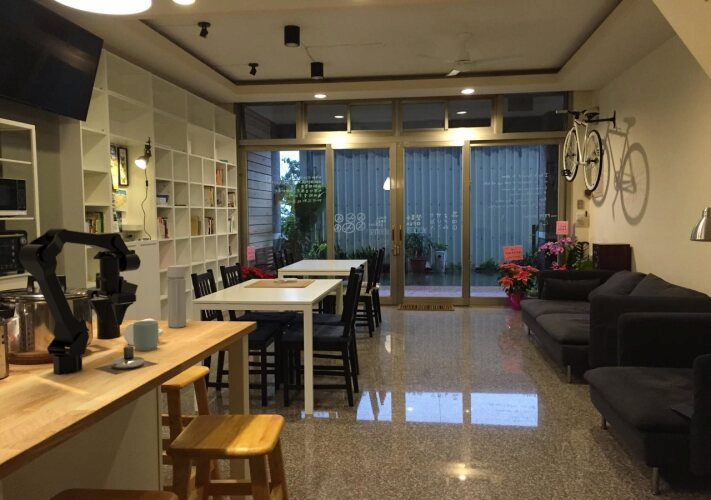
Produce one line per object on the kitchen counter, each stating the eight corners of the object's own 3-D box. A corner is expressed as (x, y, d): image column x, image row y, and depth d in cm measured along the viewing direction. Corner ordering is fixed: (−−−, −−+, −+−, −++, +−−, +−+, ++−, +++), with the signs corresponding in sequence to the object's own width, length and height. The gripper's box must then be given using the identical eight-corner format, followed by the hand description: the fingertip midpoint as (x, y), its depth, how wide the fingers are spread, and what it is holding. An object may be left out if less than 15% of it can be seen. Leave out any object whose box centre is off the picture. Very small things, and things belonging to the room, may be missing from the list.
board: (116, 378, 156) (115, 374, 156) (93, 372, 162) (93, 368, 162) (158, 367, 168) (158, 363, 168) (136, 362, 174) (136, 358, 174)
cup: (150, 355, 182) (149, 325, 182) (128, 354, 184) (128, 324, 183) (163, 350, 190) (162, 320, 190) (142, 349, 192) (141, 320, 191)
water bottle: (167, 325, 233) (166, 265, 232) (186, 324, 236) (186, 265, 234) (166, 329, 225) (165, 267, 223) (187, 328, 227) (186, 267, 226)
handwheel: (142, 367, 161) (142, 352, 161) (108, 369, 159) (108, 354, 159) (145, 359, 170) (144, 345, 170) (113, 361, 168) (112, 347, 167)
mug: (123, 345, 198) (123, 322, 197) (140, 339, 207) (140, 317, 207) (153, 347, 195) (153, 324, 194) (169, 341, 205) (169, 319, 204)
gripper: (151, 273, 174) (152, 322, 175) (116, 269, 185) (117, 316, 185) (118, 276, 165) (119, 328, 166) (83, 272, 175) (84, 321, 176)
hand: (110, 323), depth 174 cm, fingers open, 9 cm apart
